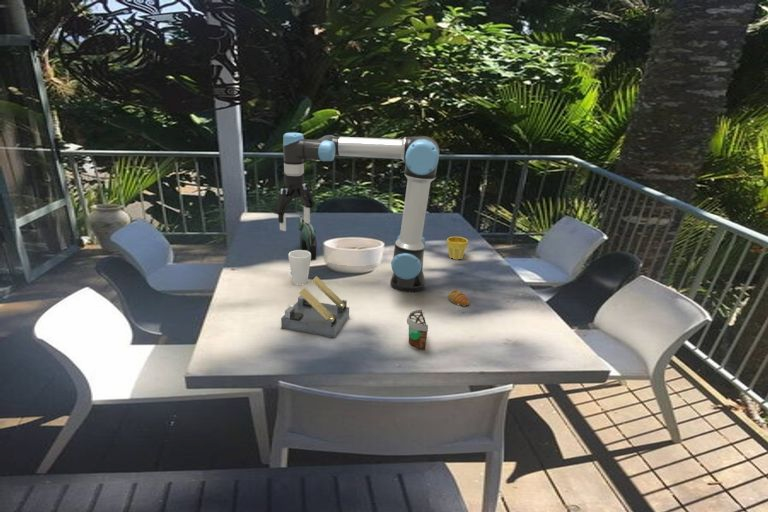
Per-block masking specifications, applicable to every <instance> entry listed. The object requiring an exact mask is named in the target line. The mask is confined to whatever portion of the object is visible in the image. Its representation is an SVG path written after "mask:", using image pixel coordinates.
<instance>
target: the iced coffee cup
mask: <svg viewBox="0 0 768 512" xmlns="http://www.w3.org/2000/svg"><path fill="white" fill-rule="evenodd" d="M423 312H424V311H423V309H414V310H413V311H411V312H409V314H408V316H407V319H406V323H407V326H408V344H409V346H410V347H412V348H414V349H416V350H421V351H425V350H426V346H427V338H428V337H427V336H428V331H429V325H428V324H427V322H426V318H425V316H424V314H423Z"/></svg>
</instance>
